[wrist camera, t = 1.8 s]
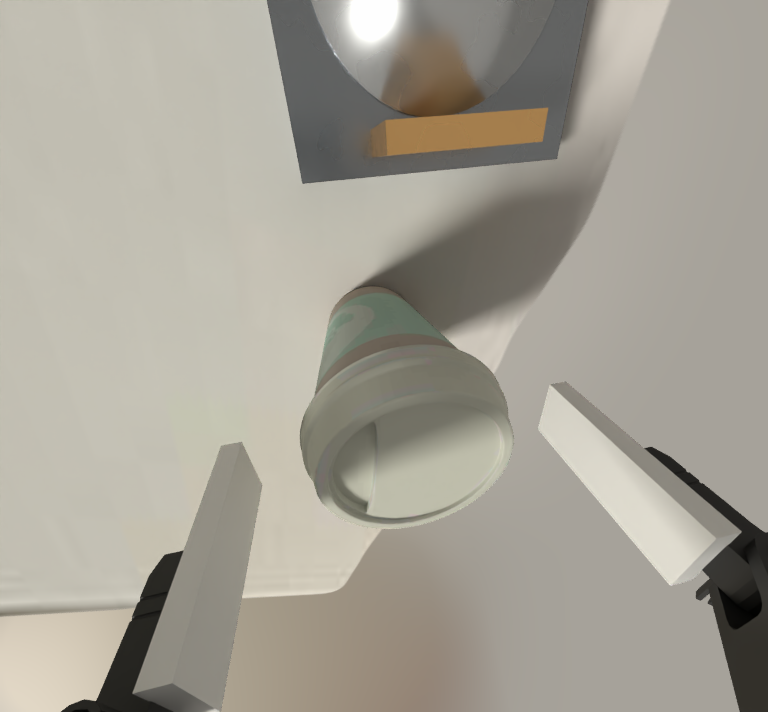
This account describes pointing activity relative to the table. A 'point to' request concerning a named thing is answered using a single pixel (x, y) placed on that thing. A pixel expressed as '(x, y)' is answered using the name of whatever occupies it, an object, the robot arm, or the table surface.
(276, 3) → the block
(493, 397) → the coffee cup
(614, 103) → the table surface
